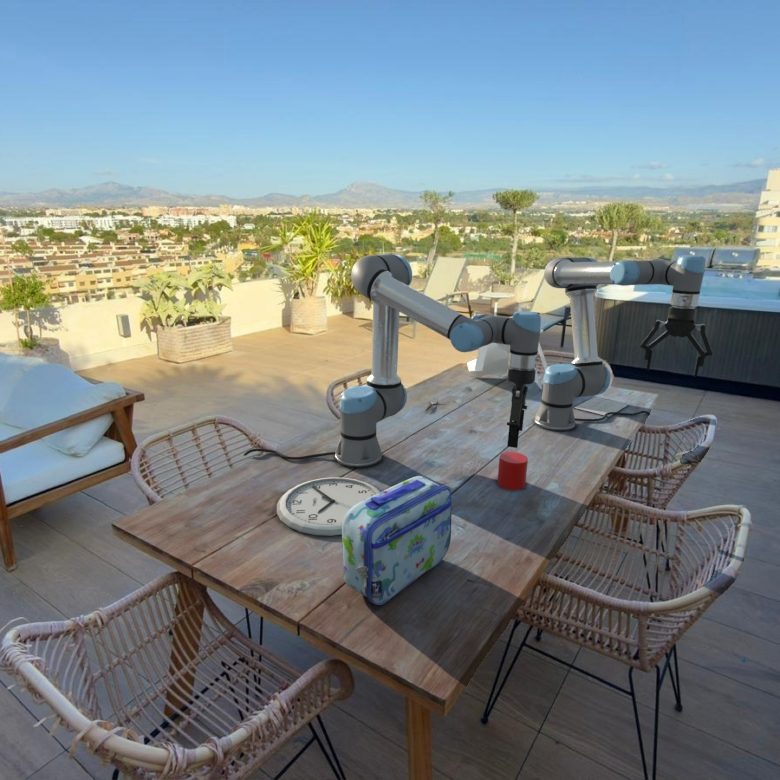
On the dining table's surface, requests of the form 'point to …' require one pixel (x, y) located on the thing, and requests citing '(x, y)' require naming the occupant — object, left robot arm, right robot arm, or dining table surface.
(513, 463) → the canister
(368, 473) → the dining table surface
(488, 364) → the white plastic object
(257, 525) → the dining table surface
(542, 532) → the dining table surface
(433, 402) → the fork
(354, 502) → the wall clock
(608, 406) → the invitation card
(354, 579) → the lunch box
